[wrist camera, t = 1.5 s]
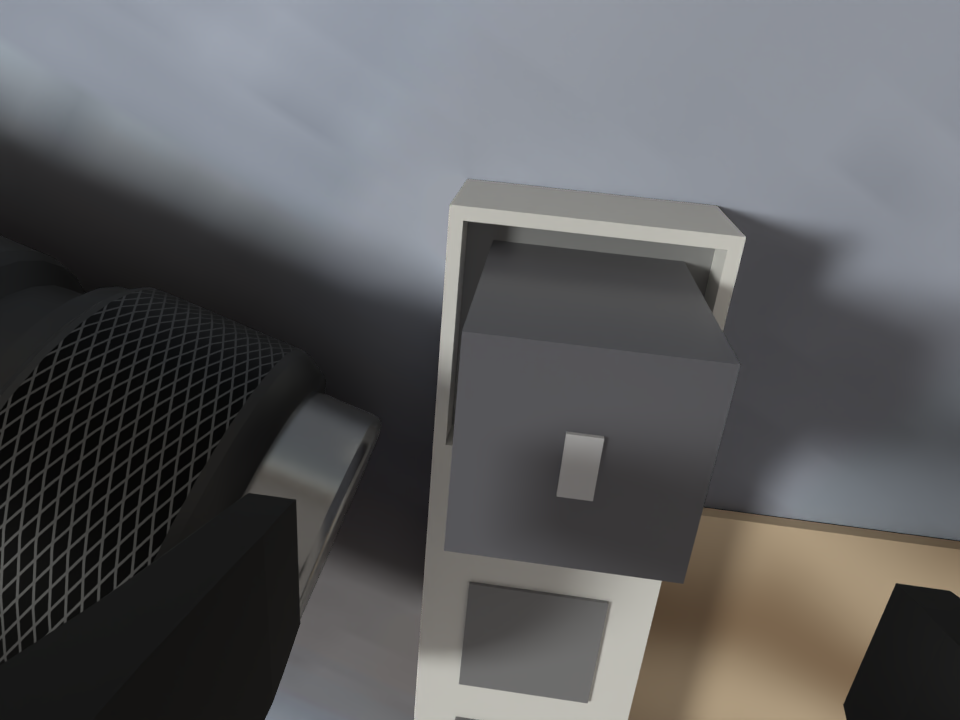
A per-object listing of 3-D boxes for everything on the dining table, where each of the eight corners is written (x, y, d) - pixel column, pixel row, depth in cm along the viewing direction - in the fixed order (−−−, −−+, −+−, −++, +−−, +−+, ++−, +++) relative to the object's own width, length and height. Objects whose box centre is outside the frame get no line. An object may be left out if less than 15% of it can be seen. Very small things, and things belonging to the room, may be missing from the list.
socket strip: (590, 769, 25) (594, 877, 22) (423, 743, 26) (402, 845, 22) (717, 205, 17) (753, 245, 14) (467, 178, 17) (445, 211, 14)
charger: (648, 427, 17) (683, 587, 12) (477, 406, 18) (442, 553, 13) (684, 261, 16) (742, 366, 11) (493, 240, 16) (461, 332, 11)
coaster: (888, 763, 24) (894, 774, 23) (616, 722, 24) (617, 732, 24) (993, 545, 20) (1000, 555, 20) (668, 502, 21) (670, 511, 20)
